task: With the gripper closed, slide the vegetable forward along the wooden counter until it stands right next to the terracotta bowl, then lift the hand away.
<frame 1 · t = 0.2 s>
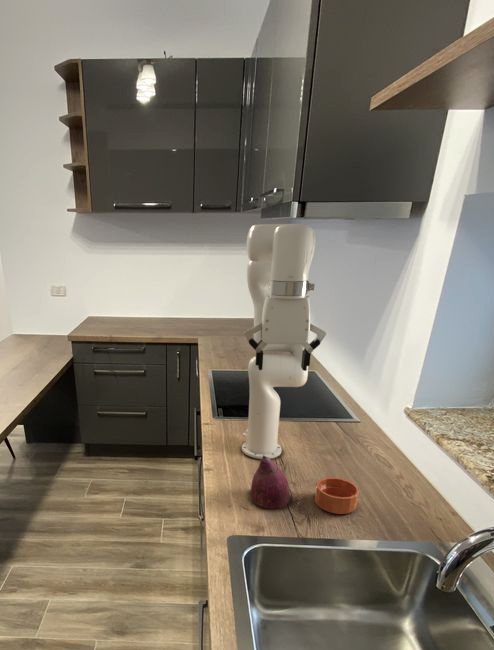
hand: (281, 368, 99), 37 cm above the counter, tool pointing down, fingers open, 9 cm apart
bowl: (335, 504, 115), on the counter
vegetable: (269, 499, 118), on the counter
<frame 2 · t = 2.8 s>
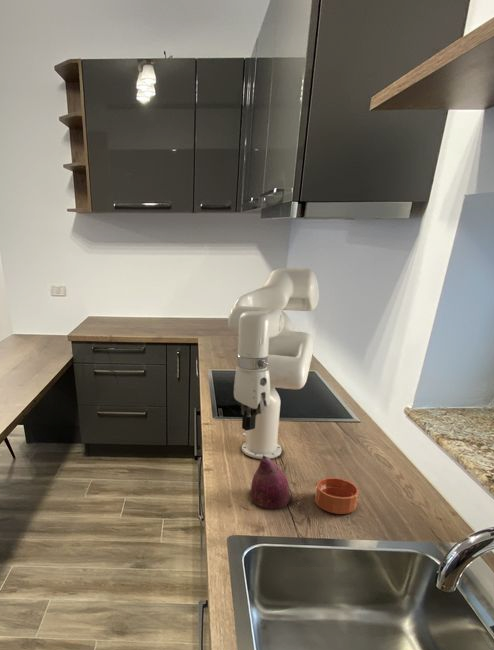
hand: (248, 428, 119), 17 cm above the counter, tool pointing down, fingers closed
nothing on the counter moved.
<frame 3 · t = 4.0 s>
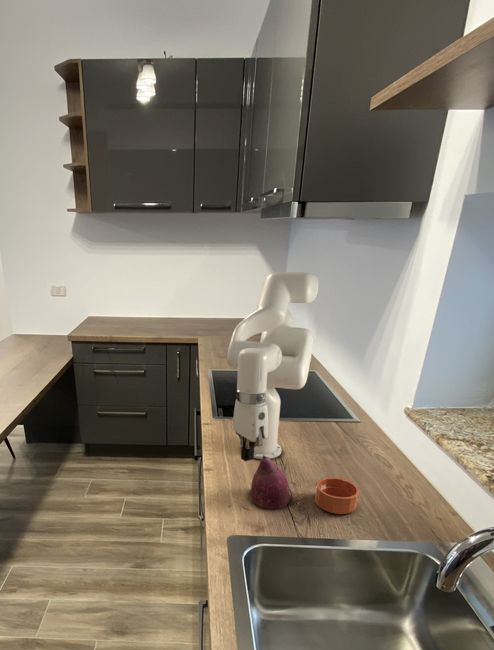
hand: (247, 459, 123), 7 cm above the counter, tool pointing down, fingers closed
nothing on the counter moved.
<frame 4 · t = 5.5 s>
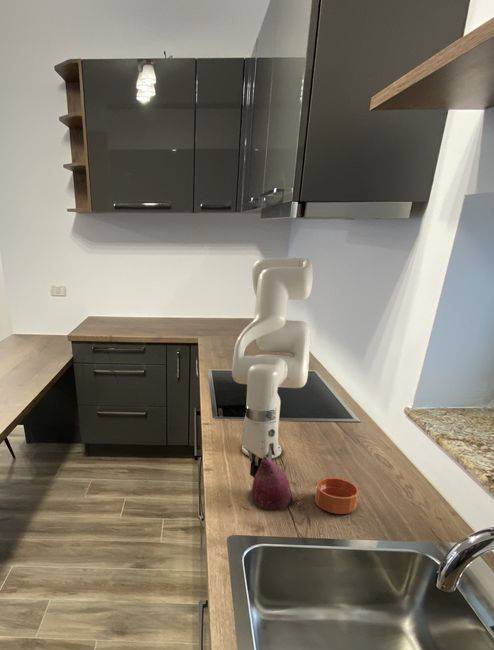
hand: (256, 475, 121), 4 cm above the counter, tool pointing down, fingers closed
vegetable: (270, 500, 118), on the counter, touching gripper
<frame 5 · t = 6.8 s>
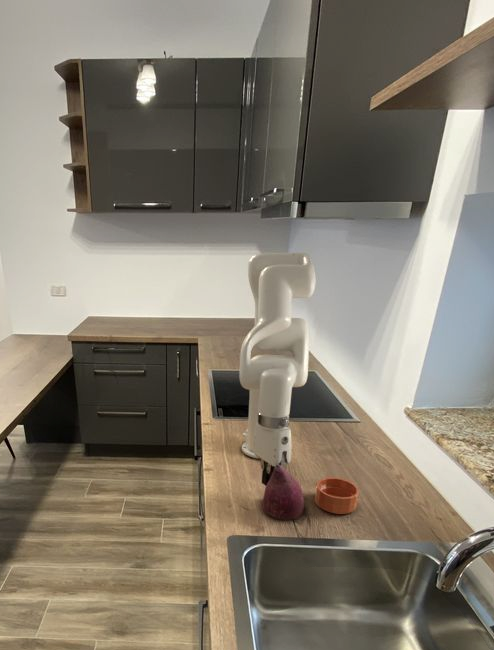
hand: (268, 483, 117), 4 cm above the counter, tool pointing down, fingers closed
vegetable: (282, 509, 114), on the counter, touching gripper
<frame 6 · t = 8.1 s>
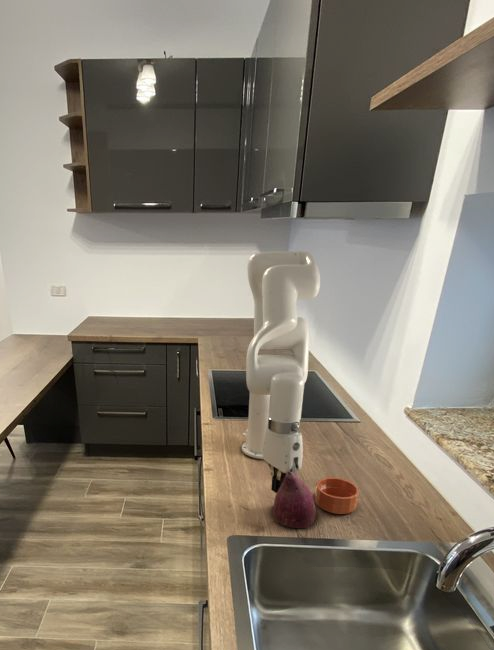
hand: (278, 490, 114), 4 cm above the counter, tool pointing down, fingers closed
vegetable: (293, 517, 110), on the counter, touching gripper
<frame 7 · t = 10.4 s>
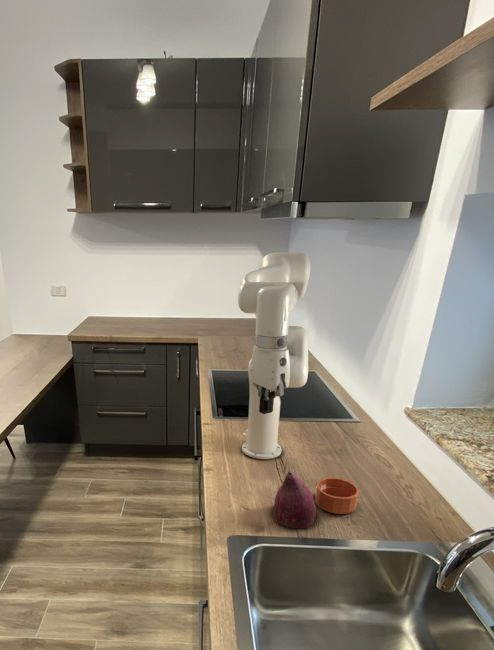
hand: (265, 412, 113), 23 cm above the counter, tool pointing down, fingers closed
vegetable: (293, 517, 110), on the counter
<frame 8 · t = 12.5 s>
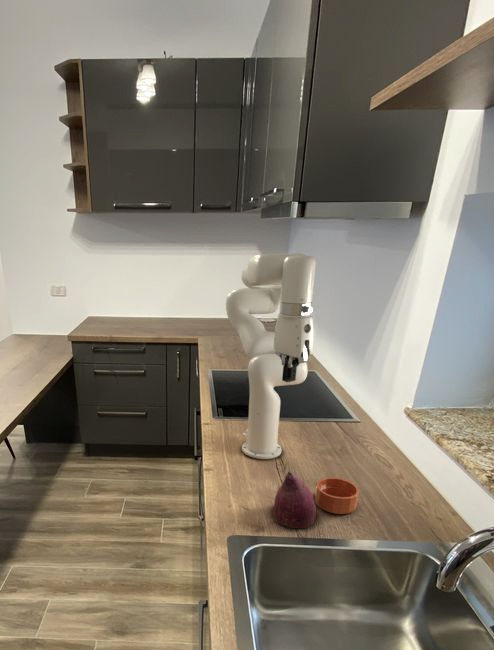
hand: (288, 380, 117), 29 cm above the counter, tool pointing down, fingers closed
nothing on the counter moved.
at the end: vegetable inside the target area (1.0 cm from its centre), on the counter; vegetable 13.1 cm from the bowl (horizontally); vegetable tilted 0° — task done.
